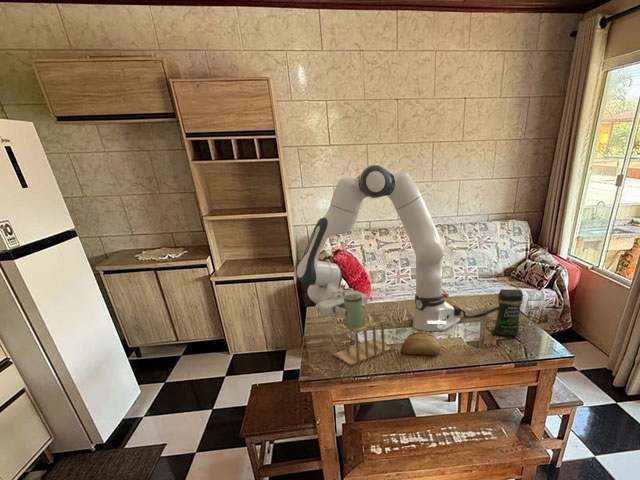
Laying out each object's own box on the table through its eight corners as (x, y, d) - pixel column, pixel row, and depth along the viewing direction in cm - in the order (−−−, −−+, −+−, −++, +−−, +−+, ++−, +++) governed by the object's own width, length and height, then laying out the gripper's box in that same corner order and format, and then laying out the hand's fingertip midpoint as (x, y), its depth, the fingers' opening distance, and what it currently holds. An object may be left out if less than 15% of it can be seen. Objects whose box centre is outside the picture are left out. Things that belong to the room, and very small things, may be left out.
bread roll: (401, 348, 161) (401, 329, 157) (439, 347, 160) (440, 328, 156) (401, 359, 153) (400, 339, 149) (441, 358, 152) (441, 339, 148)
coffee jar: (495, 336, 168) (500, 292, 158) (493, 329, 174) (497, 286, 165) (519, 336, 166) (525, 292, 157) (516, 329, 173) (522, 286, 164)
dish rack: (373, 340, 168) (371, 310, 162) (392, 349, 160) (391, 318, 154) (332, 355, 157) (329, 324, 151) (350, 366, 149) (347, 333, 143)
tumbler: (356, 319, 161) (354, 292, 156) (367, 324, 156) (365, 296, 151) (342, 324, 157) (339, 296, 152) (352, 329, 153) (350, 300, 147)
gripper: (311, 298, 155) (330, 307, 146) (354, 287, 167) (375, 294, 157) (313, 314, 158) (332, 324, 149) (355, 301, 170) (376, 310, 160)
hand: (354, 308), depth 153 cm, fingers closed on tumbler, 7 cm apart
